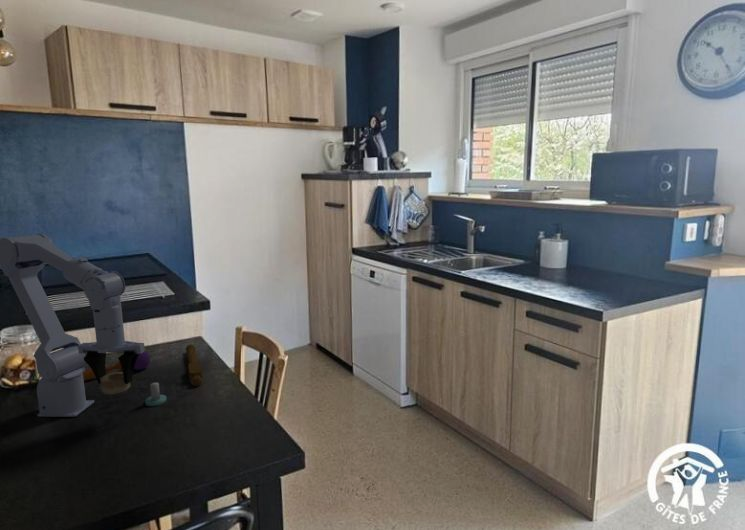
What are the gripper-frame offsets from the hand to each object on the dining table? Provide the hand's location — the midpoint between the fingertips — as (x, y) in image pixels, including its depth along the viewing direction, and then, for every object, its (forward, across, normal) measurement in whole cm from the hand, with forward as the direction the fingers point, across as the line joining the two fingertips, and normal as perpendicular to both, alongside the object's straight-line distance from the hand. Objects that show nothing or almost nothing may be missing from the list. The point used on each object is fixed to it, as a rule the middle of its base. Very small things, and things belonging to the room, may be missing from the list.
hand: (115, 382), depth 114 cm
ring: (+2, 0, 0) cm, 2 cm away
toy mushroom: (+9, +4, +9) cm, 14 cm away
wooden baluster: (+10, +5, +32) cm, 34 cm away
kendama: (+10, -16, +27) cm, 33 cm away
